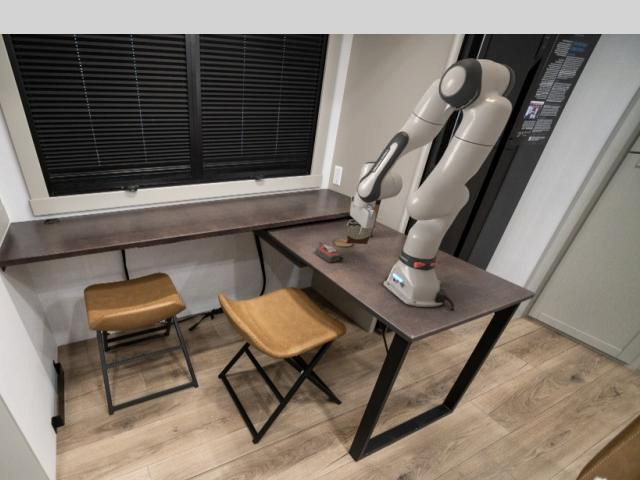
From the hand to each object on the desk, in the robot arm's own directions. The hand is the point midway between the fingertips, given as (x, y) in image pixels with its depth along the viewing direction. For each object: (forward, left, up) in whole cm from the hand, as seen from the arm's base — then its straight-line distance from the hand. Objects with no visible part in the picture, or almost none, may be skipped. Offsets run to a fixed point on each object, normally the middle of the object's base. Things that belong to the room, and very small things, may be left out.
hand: (358, 231), depth 142 cm
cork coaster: (+12, +1, -11) cm, 16 cm away
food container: (+1, 0, -5) cm, 5 cm away
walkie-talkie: (-1, +14, -11) cm, 17 cm away
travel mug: (+23, -14, -11) cm, 29 cm away
